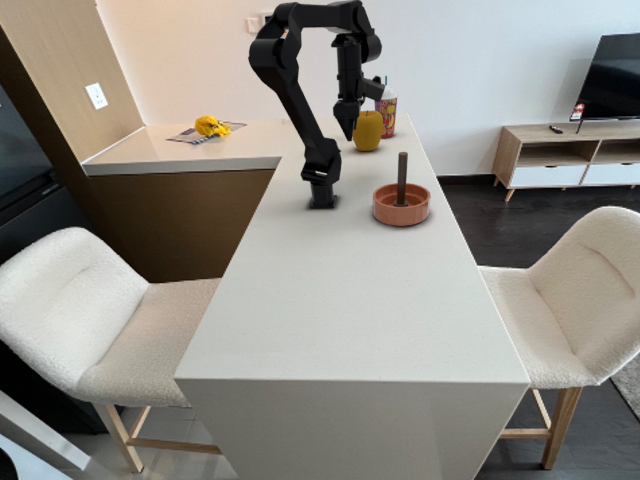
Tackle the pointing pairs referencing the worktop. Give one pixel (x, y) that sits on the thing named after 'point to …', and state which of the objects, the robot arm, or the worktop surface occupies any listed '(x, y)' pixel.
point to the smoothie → (387, 110)
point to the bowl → (401, 215)
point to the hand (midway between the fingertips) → (351, 135)
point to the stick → (401, 180)
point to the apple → (368, 130)
